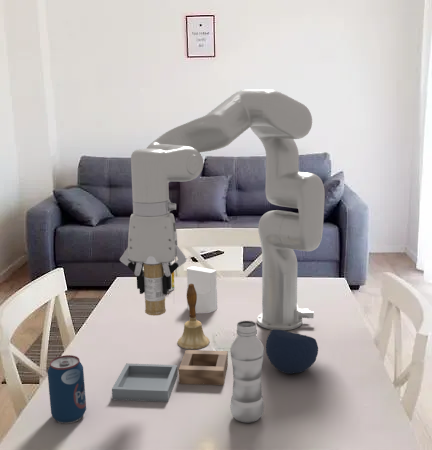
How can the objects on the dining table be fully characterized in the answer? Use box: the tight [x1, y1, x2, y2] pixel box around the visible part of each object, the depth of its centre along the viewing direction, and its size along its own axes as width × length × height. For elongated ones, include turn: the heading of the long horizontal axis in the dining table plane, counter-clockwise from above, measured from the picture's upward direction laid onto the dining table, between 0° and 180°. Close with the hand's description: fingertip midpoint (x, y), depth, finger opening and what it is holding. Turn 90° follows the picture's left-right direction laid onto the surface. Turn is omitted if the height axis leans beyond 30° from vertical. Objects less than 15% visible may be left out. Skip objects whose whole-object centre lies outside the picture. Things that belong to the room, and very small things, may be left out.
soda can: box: [47, 354, 87, 424], centre depth 120 cm, size 7×7×12 cm
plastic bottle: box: [229, 320, 265, 424], centre depth 117 cm, size 6×7×20 cm
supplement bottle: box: [168, 261, 175, 292], centre depth 196 cm, size 5×5×10 cm
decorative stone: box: [265, 329, 319, 375], centre depth 138 cm, size 12×12×10 cm
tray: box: [111, 362, 179, 403], centre depth 133 cm, size 12×12×2 cm
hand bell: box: [177, 284, 210, 350], centre depth 154 cm, size 8×8×16 cm
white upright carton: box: [186, 265, 218, 314], centre depth 178 cm, size 9×9×12 cm
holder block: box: [178, 349, 229, 386], centre depth 138 cm, size 10×10×4 cm
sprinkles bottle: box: [143, 256, 167, 317], centre depth 129 cm, size 5×5×14 cm
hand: (154, 291), depth 129 cm, fingers closed on sprinkles bottle, 4 cm apart
